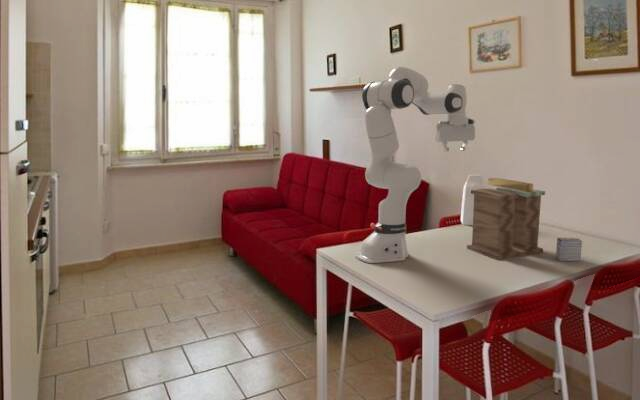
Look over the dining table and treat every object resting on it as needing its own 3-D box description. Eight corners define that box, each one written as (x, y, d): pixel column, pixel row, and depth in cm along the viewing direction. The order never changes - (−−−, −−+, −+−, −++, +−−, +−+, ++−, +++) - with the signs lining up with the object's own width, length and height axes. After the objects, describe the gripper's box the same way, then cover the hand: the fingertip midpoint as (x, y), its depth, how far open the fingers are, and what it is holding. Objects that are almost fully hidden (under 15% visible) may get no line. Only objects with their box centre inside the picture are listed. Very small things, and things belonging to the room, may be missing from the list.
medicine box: (575, 258, 191) (577, 237, 190) (580, 261, 187) (582, 240, 186) (555, 258, 192) (556, 237, 191) (559, 261, 188) (561, 240, 186)
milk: (483, 220, 260) (485, 173, 255) (486, 225, 249) (488, 176, 244) (460, 220, 262) (462, 173, 257) (462, 225, 251) (464, 176, 246)
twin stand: (496, 259, 191) (499, 196, 186) (466, 248, 207) (469, 190, 203) (542, 252, 200) (546, 191, 196) (510, 241, 217) (514, 185, 212)
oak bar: (525, 191, 197) (525, 184, 196) (488, 184, 217) (488, 178, 216) (532, 190, 198) (533, 183, 198) (494, 184, 218) (495, 177, 218)
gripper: (441, 121, 212) (440, 152, 214) (477, 120, 219) (476, 150, 222) (432, 121, 218) (432, 151, 220) (468, 120, 225) (467, 149, 228)
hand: (454, 150), depth 221 cm, fingers open, 8 cm apart
